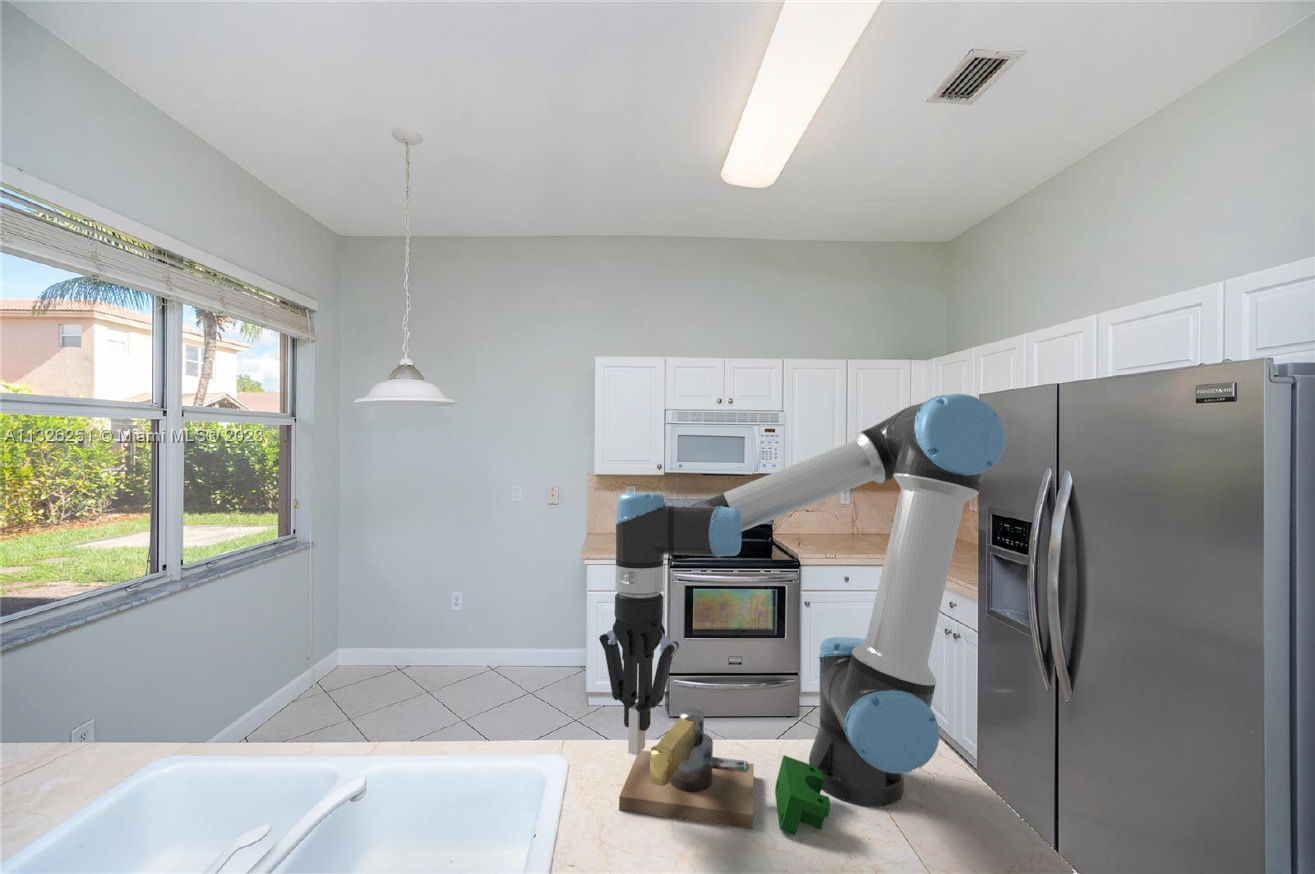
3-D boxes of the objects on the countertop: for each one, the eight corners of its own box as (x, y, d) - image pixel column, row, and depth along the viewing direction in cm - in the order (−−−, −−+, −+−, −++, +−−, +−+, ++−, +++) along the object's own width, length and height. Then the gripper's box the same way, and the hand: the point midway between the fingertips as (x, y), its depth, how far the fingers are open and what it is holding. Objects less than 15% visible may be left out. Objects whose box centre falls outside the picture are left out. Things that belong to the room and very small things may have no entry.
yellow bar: (683, 730, 89) (684, 706, 89) (706, 736, 88) (707, 710, 88) (642, 781, 74) (643, 751, 74) (669, 788, 73) (670, 758, 73)
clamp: (814, 864, 77) (833, 823, 73) (773, 848, 78) (790, 807, 74) (811, 788, 88) (828, 749, 85) (775, 775, 89) (790, 735, 85)
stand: (753, 776, 91) (753, 764, 91) (752, 829, 77) (753, 814, 77) (638, 761, 95) (639, 750, 95) (618, 810, 81) (619, 796, 81)
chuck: (749, 774, 88) (749, 737, 88) (748, 800, 81) (749, 758, 81) (672, 765, 90) (673, 728, 91) (665, 788, 83) (666, 748, 84)
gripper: (590, 592, 82) (587, 751, 81) (667, 602, 77) (665, 773, 75) (614, 584, 89) (611, 730, 88) (687, 592, 84) (685, 748, 82)
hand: (636, 750), depth 81 cm, fingers closed
